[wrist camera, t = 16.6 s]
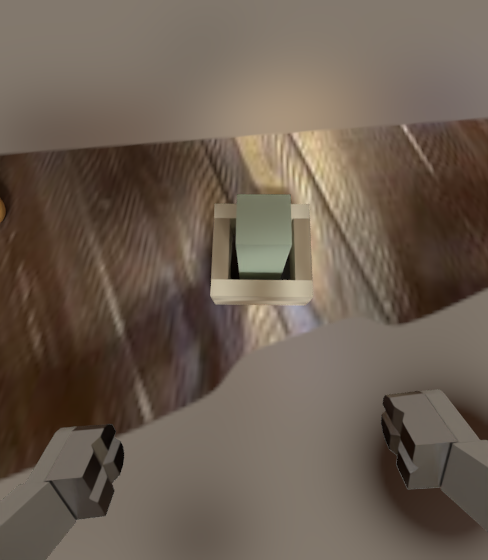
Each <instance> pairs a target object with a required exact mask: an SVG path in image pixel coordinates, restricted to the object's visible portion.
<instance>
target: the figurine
mask: <svg viewBox="0 0 488 560" xmlns="http://www.w3.org/2000/svg"><path fill="white" fill-rule="evenodd" d="M5 214H6V209H5V205H4V203H3V202H2V200H1V199H0V223H1V222H2V221H3V219H4V218H5Z"/></svg>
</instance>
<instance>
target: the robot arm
mask: <svg viewBox="0 0 488 560" xmlns="http://www.w3.org/2000/svg"><path fill="white" fill-rule="evenodd" d="M383 406H384V408H385V410H386V411H385V412H384V413H383V414H382V417H381V425H382V431H383V435H384V438H385V441H386V443H387V445H388V448H389V449H390V450H391V451H392V452H393V453H395V454H396V455H397V463H396V465H397V467H398V469H399V471H400V474H401V476H402V478H403V480H404V482H405V484H406V487H407V489H420V488H438V487H441V490H442V491H443V492H444V493H445V494H447V495H448V496H449V497H450V498H451V499H452V500H453V501H454V502H455V503H456V504H458V505H459V506H460V507H461V508H462V509H463V510H464V511H465V512H466V513H467V514H469V515H470V516H471V517H472V518H473V519H474V520H475V521H476V522H477V523H479V524H480V525H481V526H482V527H483V528H484V529H485V530H486V531H487V532H488V441H487V440H480V439H479V438H478V437H477V436H476V434H475V433H474V432H473V430H472V429H471V428H470V426H469V425H468V424H467V422H466V421H465V420H464V419H463V417H462V416H461V415H460V413H459V412H458V411H457V410H456V408H455V407H454V406H453V405H452V403H451V402H450V400H449V399H448V398H447V396H446V395H445V394H444V393H443V392H442V391H441V390H439V389H438V390H427V391H415V392H407V393H398V394H389V395H385V396H384V398H383ZM115 433H116V431H115V429H114V427H113V425H112V424H105V425H92V426H79V427H68V428H61V429H59V430H58V431H57V432H56V433H55V434H54V436H53V438H52V439H51V441H50V443H49V444H48V446H47V448H46V449H45V451H44V453H43V454H42V456H41V458H40V459H39V461H38V463H37V464H36V466H35V468H34V469H33V471H32V473H31V474H30V476H29V478H28V480H27V481H26V483H25V484H20V485H18V486H17V487H16V488H15V489H14V490H13V491H11V492H10V493H9V494H8V495H7V496H6V497H4V498H3V499H2V500H1V501H0V560H46V559H47V558H48V556H49V555H50V554H51V553H52V551H53V550H54V549H55V548H56V546H57V545H58V544H59V543H60V542H61V540H62V539H63V538H64V536H65V535H66V534H67V533H68V532H69V530H70V529H71V528H72V527H73V525H74V524H75V523H76V520H78V519H86V518H95V517H102V516H106V514H107V511H108V508H109V505H110V503H111V500H112V497H113V494H114V488H113V485H112V483H113V482H114V480H116V479H117V478H118V476H119V475H120V473H121V470H122V467H123V461H124V450H123V445H122V443H121V441H119V440H118V439H116V438H115V437H114V435H115Z"/></svg>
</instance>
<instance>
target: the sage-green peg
mask: <svg viewBox="0 0 488 560" xmlns="http://www.w3.org/2000/svg"><path fill="white" fill-rule="evenodd" d="M291 246H292V229H291V195H281V194H237V211H236V251H237V259H238V267H239V275H240V280H280V278H281V275H282V272H283V269H284V266H285V263H286V260H287V258H288V255H289V252H290V249H291Z"/></svg>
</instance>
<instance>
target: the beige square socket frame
mask: <svg viewBox="0 0 488 560" xmlns="http://www.w3.org/2000/svg"><path fill="white" fill-rule="evenodd" d="M236 211H237V204H215V206H214V228H213V249H212V271H211V293H210V296H211V298H212V299H213V301H214V303H215V304H235V305H306V304H307V303H308V302H309V301H310V300H311V299H312V298H313V280H312V257H311V233H310V210H309V204H291V229H292V246H291V249H290V252H289V269H290V280H231V261H232V235H236Z"/></svg>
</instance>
